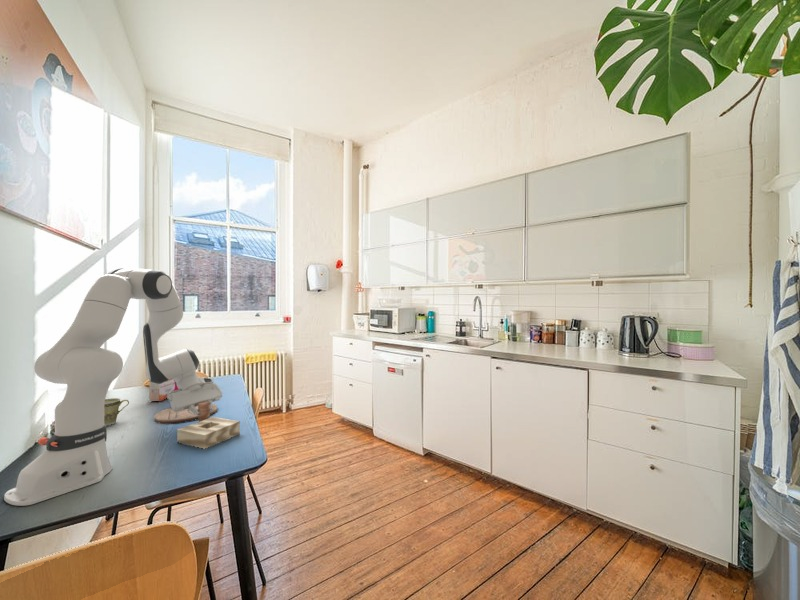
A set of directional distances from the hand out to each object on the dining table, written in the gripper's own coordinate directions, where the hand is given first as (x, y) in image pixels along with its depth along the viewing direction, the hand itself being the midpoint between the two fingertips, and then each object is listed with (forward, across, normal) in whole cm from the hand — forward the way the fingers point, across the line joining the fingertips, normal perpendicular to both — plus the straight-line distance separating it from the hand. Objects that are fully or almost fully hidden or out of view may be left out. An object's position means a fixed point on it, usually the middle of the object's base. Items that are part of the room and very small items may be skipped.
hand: (204, 412), depth 145 cm
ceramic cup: (-26, -17, +34) cm, 46 cm away
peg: (+4, 0, +5) cm, 6 cm away
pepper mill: (-27, +13, +35) cm, 46 cm away
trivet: (-13, +6, +22) cm, 26 cm away
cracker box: (-41, +16, +50) cm, 66 cm away
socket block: (+14, -7, -6) cm, 17 cm away
